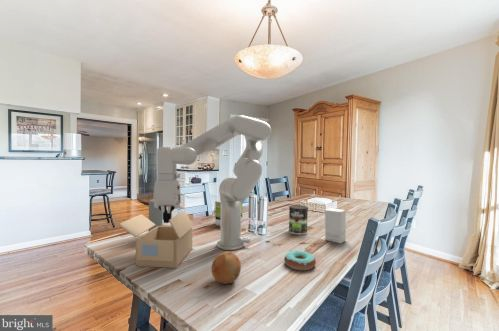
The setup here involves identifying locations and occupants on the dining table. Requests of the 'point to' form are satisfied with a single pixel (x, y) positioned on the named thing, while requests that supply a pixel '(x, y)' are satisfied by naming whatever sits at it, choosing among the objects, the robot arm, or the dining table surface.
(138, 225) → the flap
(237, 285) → the dining table surface
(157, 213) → the hard drive box
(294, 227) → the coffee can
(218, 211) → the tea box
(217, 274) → the onion
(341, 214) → the skincare box
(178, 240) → the carton
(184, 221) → the flap
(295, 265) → the donut
